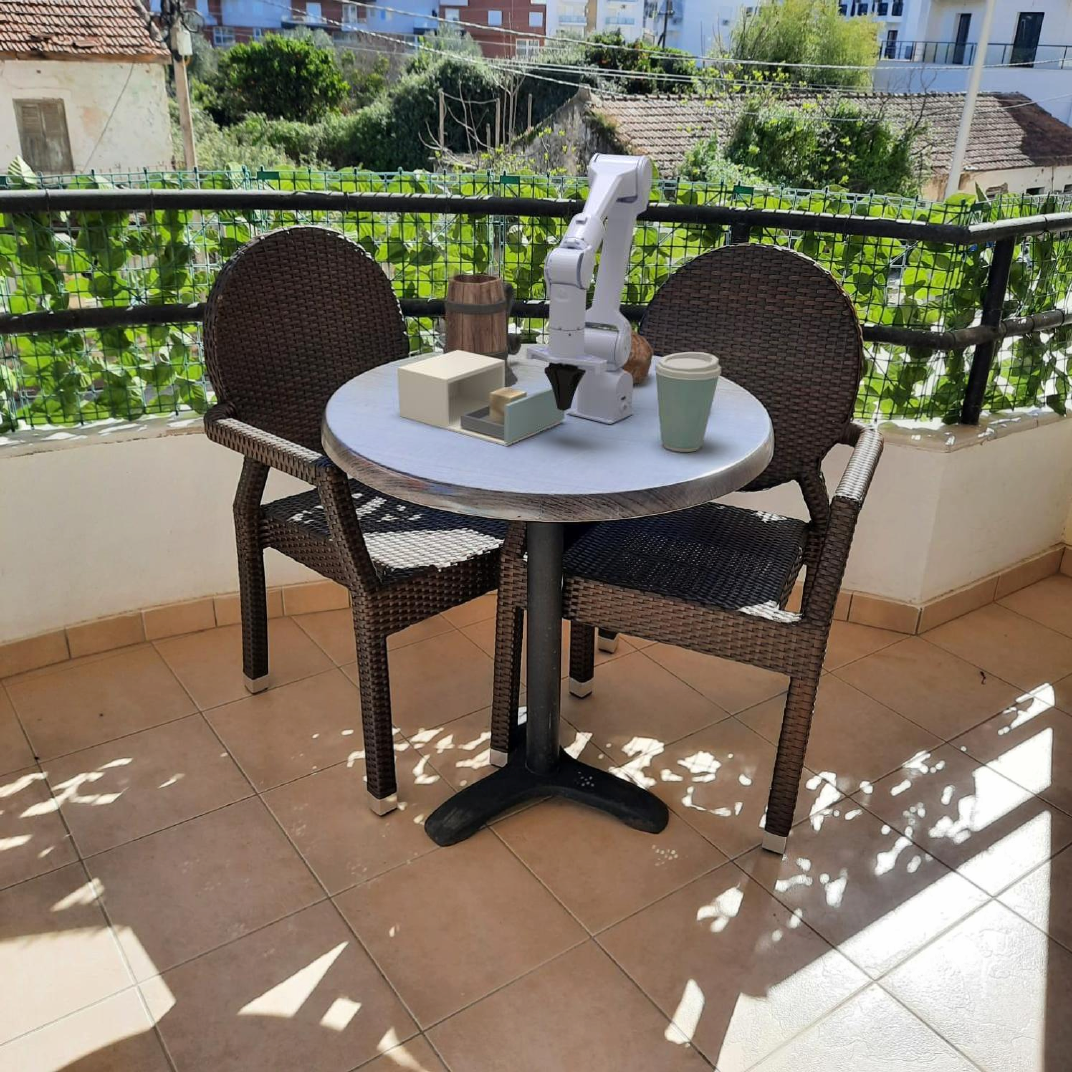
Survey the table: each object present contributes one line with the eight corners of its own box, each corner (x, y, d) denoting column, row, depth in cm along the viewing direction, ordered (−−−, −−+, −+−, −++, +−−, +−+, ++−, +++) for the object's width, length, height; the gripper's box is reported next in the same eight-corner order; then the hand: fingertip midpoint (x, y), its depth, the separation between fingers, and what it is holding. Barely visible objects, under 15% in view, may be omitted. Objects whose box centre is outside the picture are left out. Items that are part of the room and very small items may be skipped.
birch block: (526, 419, 168) (526, 392, 165) (510, 426, 164) (510, 398, 162) (505, 414, 170) (505, 387, 168) (489, 420, 167) (489, 392, 164)
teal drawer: (564, 418, 170) (565, 384, 167) (508, 442, 158) (508, 405, 156) (514, 406, 176) (514, 372, 173) (456, 428, 164) (456, 392, 162)
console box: (562, 422, 171) (563, 373, 167) (506, 446, 159) (506, 394, 155) (458, 395, 183) (457, 349, 180) (399, 416, 172) (397, 367, 168)
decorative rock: (598, 369, 202) (601, 321, 198) (652, 372, 201) (656, 324, 197) (592, 387, 191) (594, 336, 186) (649, 390, 189) (653, 340, 185)
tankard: (486, 396, 183) (486, 290, 175) (416, 381, 191) (413, 279, 183) (550, 369, 201) (553, 271, 193) (484, 356, 209) (484, 262, 201)
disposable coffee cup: (669, 460, 155) (677, 369, 148) (636, 438, 164) (643, 351, 157) (725, 452, 159) (735, 363, 152) (690, 431, 167) (698, 346, 161)
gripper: (515, 323, 154) (514, 405, 160) (591, 338, 147) (587, 423, 152) (541, 316, 159) (539, 395, 165) (615, 330, 152) (611, 413, 158)
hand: (563, 408), depth 159 cm, fingers closed
